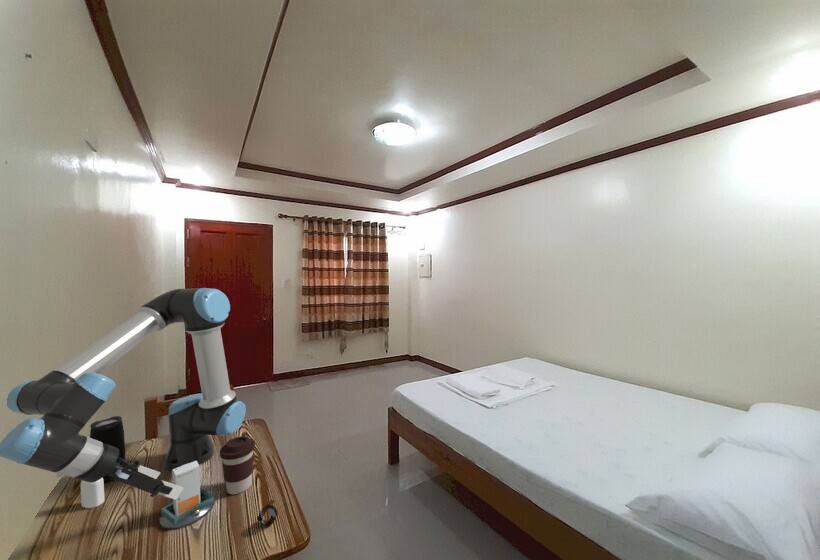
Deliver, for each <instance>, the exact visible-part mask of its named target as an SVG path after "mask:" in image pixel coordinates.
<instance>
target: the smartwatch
mask: <svg viewBox="0 0 820 560" xmlns="http://www.w3.org/2000/svg"><path fill="white" fill-rule="evenodd" d="M266 512H268V514H269V516H270V518H269V519H268V521H267V522H266V523H265V524H264V522H263V519H264V516H265V514H266ZM278 514H279V512H278V509H277V507H275V505H273V504H269V503H268V504H266V505H265V506H264V507H263V508H262V509H261V511H260V512H259V513H258V515H257V517H256V518H257V520H256V521H258V522H259V524H261V525H262V526H263V527H265V528H269V527H271V525H272V524H273V523H274V522H275V521H276V519H277V517H278Z"/></svg>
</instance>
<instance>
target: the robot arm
mask: <svg viewBox="0 0 820 560" xmlns="http://www.w3.org/2000/svg"><path fill="white" fill-rule="evenodd" d="M230 311H231V304H230V301H229V298H228V297H227V295H226V294H225V293H224V292H222V291H221V290H220V289H217V288H211V287H210V288H207V287H201V288H200V287H199V288H198V287H197V288H176V289H173V290H169V291H166V292H164V293H162V294H160V295H158V296H155V298H153V299H151V300H150V301H148V302H146V303H144V304H143V305H141V306H140V307H139V308H137V309H136V312H135V314H134V315H133V316H131V317H129V318H128V319H127V320H126V321H124V322H123V323H121V324H120V325H118V326H116V327H115V328H113V329H112V330H111V331H109V332H107V333H106V334H105V335H103V336H101V337H100V338H98V339H97V340H95V341H94V342H92V344H90V345H88V346H87V347H85V348H84V349H82V350H81V351H79V352H78V353H77V354H75V355H74V356H72V357H70V359H68V360H66V361H65V362H63V363H62V364H60V365H59V366H57V367H55V369H53V370H52V371H50V372H48V373H46V374H45V375H44V376H42V377H41V378H39V379H37V380H29V381H26V382H23V383H20V384H18V385H16V386H15V387H13V388H12V389H11V390H10V392H8V395H7V396H8V398H7V397H6V399H7V404H6V406H7V408H8V410H10V411H12V412H14V413H18V414H22V415H23V414H24V415H26V416H27V415H28V416H29V415H39V416H40V415H41V416H42V417H40V418H36V417H31V418H30V417H29V418H26V419H25V420H24V421H22V422H20V423H19V424H17V426H15V428H13V429H12V430H10V432H8V433H7V434H6V435H5V437H3V438H2V440H1V441H0V457H1V458H5V459H7V460H10V461H13V462H16V463H17V464H21V465H26V466H29V467H31V468H32V467H33V468H36V469H41V470H44V471H47V472H52V473H56V474H55V476H56V477H57V478H60V477H62V476H63V475H64V476H65V477H66V476H67V477H71V478H75V479H76V480H80V481H82V480H83V481H86V482H90V483H92V482H96V481H98V480H100V479H101V478H102V477H104V476H108V478H109V480H112V481H116V482H119V483H122V484H125V485H128V486H131V487H133V488H136V489H139V490H141V491H144V492H146V493H149V494H150V496H149V497H151V498H153V497H154V496H157V495H160V496H162V497H165V498H170V499H172V500H173V499H175V500H176V499H177V497H178V496H179V495H180V493H181V492H182V490H183V489H184V488H183V487H180V486H177V485H174V484H173V483H172V482H168V481H165V480H159V479H158V477H159V476H160V475H161V472H160V471H158V470H155V469H152V468H149V467H146V466H143V465H140V463H141V462H140V461H138V460H135V461H134V462H133V461H132V460H128V459H125V460H124V459H121V458H118V457H119V449H118V448H116V447H113V446H110V445H108V444H103V443H102V442H100V441H97V440H95V439H92V438H90V436H86V435H83V434H80V432H81V430H83V429H84V427H85V426H86V424H87V423H88V422H89V421H90V420H91V418H92V417H93V416H94V415H95V414H96V413H97V411H98V410H99V409H100V408H101V407H102V406H103V404H104V403H105V402H107V400H108V398H109V396H111V394H112V392H113V391H114V390H115V388H116V382H115V380H113V379H111V378H110V377H108V376H105V375H103V374H101V373H102V372H104V370H106V369H108V368H110V366H112V365H113V364H114V363H116V362H117V361H118V360H119V359H121V358H122V357H123V356H125V355H126V354H127V353H129V352H130V351H131V350H132V349H134V348H135V347H136V346H137V345H139V344H140V343H141V342H143V341H144V340H146V339H147V338H148V337H150V336H151V335H152V334H153V333H155V332H156V331H160V332H161V331H162V330H164V329H165V328H167V327H168V326H170V325H172V324H176V323H177V324H178V323H183V327H184V330H185V332H186V333H188V334H190V335H191V338H192V344H193V345H192V346H193V350H194V351H193V352H194V356H195V361H196V367H197V373H198V379H199V383H200V388H201V389H200V391H201V393H195V394H194V393H193V394H191V395H187V396H184V397H181V398H179V399H176V400H174V401H173V402H171V403H170V405H169V407H168V416H167V417H168V429H169V447H168V449H167V453H166V455H165V458H164V468H165V469H166V470H168V471H170V472H172V469H175V468H178V467H180V466H182V465H185V464H188V463H191V462H194V461H197V462H198V464H199V466H200V465H202V464H204V463H205V462H207V461H209V460H210V459H211V458H212V457H213V456H214V454H215V445H214V444H213V441H212V439H211V437H210V436H217V437H222V436H225V437H226V436H230V435H233V434H235V433H236V432H237V431H238V430H239V428H240V427H241V426H242V424H243V422H244V419H245V418H246V417H245V416H246V411H247V409H246V404H245V403H244V402H242V401H239V400H238V399H237V393H236V392H235V391H234V390H232V389H231V386H230V379H229V374H228V373H229V372H228V368H227V362H226V356H225V349H224V343H223V337H222V332H221V331H222V330H221V328H223V326H224V325H225V320H226V319H228V317H229V313H230Z"/></svg>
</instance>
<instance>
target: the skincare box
mask: <svg viewBox="0 0 820 560" xmlns="http://www.w3.org/2000/svg"><path fill="white" fill-rule="evenodd" d="M200 469H201V467H200V465H199V464H198V462H197V461H194V462H191V463H188V464H185V465H182V466H180V467H178V468H175V469H172V471H171V474H172V475H171V477H172V484H174V485H177V486H180V487H183V488H184V489H183V490H182V492H181V493H180V495H179V496H178V497H177V499H176V500H175V499H172V503H173V509H174V512H175V515H176V517H177V516H179V515H180V514H182V513H184V512H185V511H187V510H189V509H190V508H192V507H194V506H196V505H197V504H199V503H200V488H201V477H200V476H201V473H200V472H201V471H200Z"/></svg>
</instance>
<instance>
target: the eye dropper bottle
mask: <svg viewBox="0 0 820 560" xmlns="http://www.w3.org/2000/svg"><path fill="white" fill-rule="evenodd" d="M104 482H105V481H103V478H101V479H100V480H98V481H96V482H92V483H90V482H86V481H83V480H80V501H81V503H80V505H81V507H82V508H84V507H85V508H84V509H93V508H97V507H100V506H101V505H102V504H104V503H105V484H104Z"/></svg>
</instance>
